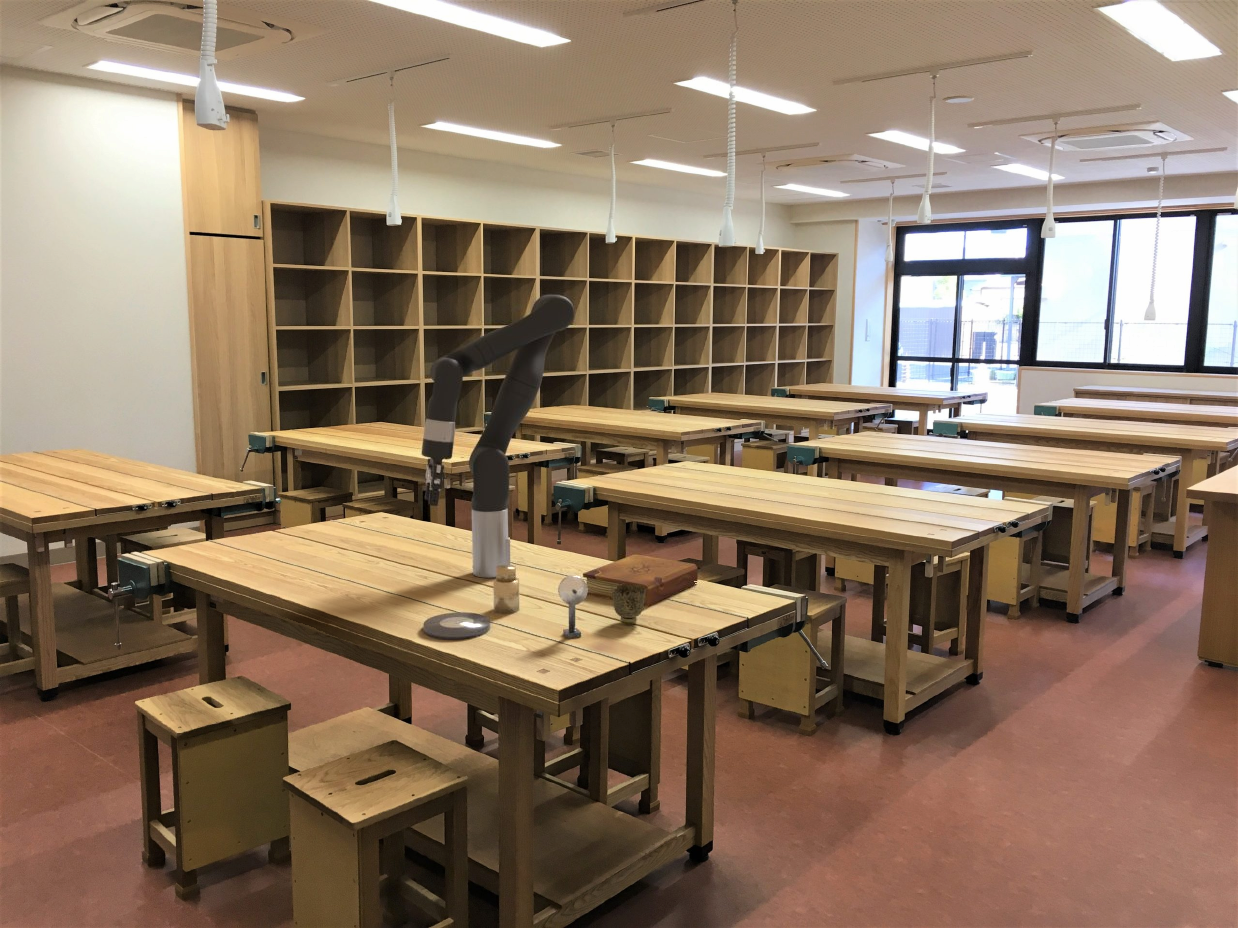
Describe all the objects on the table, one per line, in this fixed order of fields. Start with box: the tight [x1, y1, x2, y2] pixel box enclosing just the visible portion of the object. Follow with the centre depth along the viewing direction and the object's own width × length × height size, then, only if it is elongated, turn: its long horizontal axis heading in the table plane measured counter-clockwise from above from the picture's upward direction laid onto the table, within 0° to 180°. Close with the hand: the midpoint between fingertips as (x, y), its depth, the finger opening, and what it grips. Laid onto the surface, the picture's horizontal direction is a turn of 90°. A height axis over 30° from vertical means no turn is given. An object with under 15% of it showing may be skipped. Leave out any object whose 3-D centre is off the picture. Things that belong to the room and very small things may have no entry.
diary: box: [582, 554, 699, 607], centre depth 233 cm, size 23×19×6 cm
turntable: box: [422, 611, 491, 641], centre depth 202 cm, size 14×14×2 cm
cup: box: [611, 583, 646, 626], centre depth 206 cm, size 8×7×8 cm
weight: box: [492, 564, 520, 615], centre depth 215 cm, size 6×6×10 cm
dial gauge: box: [557, 574, 588, 639], centre depth 197 cm, size 6×4×13 cm, turn 109°
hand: (431, 502), depth 237 cm, fingers open, 8 cm apart
